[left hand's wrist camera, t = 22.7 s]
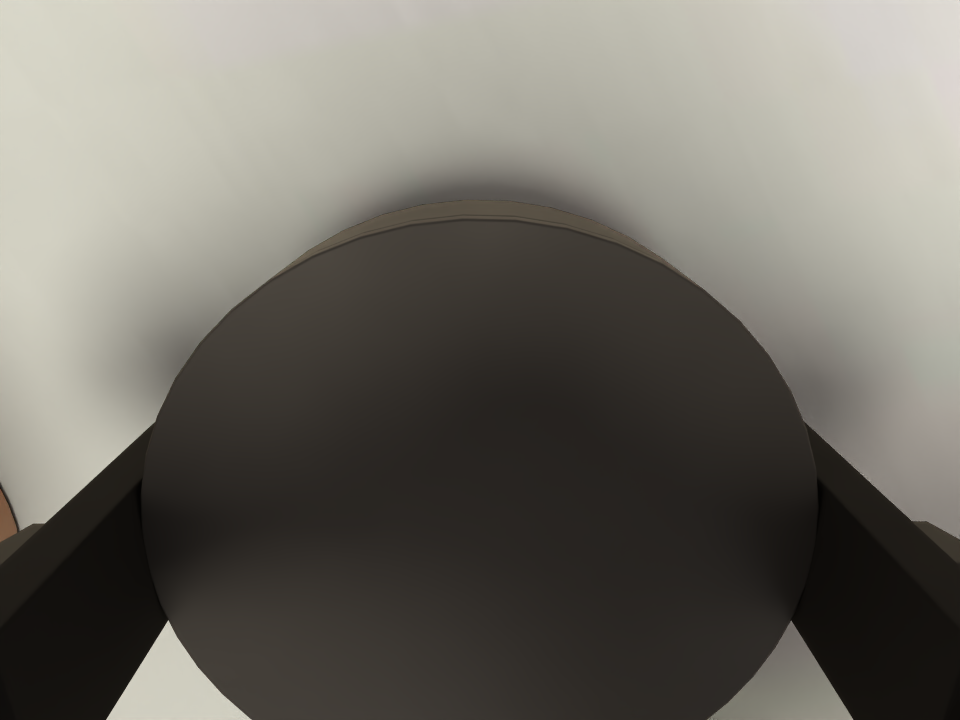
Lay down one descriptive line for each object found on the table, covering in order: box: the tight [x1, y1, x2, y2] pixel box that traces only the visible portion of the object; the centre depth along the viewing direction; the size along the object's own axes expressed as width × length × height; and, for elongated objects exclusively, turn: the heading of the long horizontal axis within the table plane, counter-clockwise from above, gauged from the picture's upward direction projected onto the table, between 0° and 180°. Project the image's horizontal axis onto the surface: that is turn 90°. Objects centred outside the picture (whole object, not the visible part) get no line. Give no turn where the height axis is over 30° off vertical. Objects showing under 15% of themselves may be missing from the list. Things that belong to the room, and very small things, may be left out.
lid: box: [141, 200, 819, 720], centre depth 11 cm, size 11×11×2 cm
